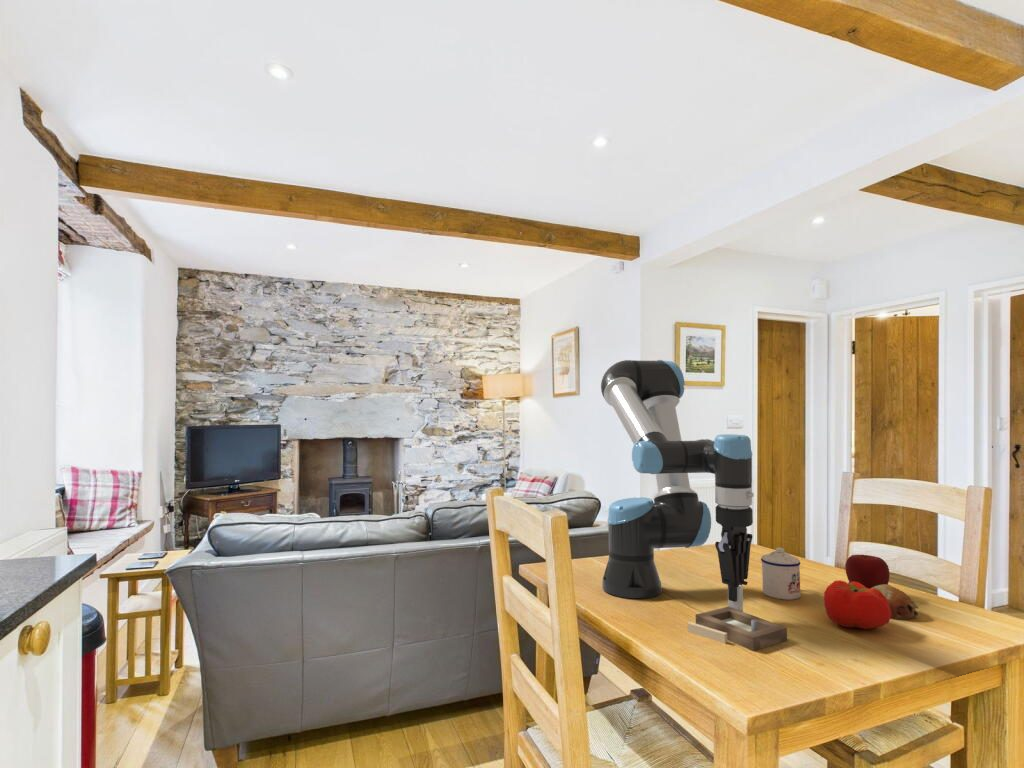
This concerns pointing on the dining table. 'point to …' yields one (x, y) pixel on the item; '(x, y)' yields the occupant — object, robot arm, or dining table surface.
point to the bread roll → (898, 602)
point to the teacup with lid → (781, 575)
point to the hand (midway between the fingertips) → (735, 614)
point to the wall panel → (714, 631)
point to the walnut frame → (743, 628)
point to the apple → (867, 570)
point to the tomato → (856, 605)
